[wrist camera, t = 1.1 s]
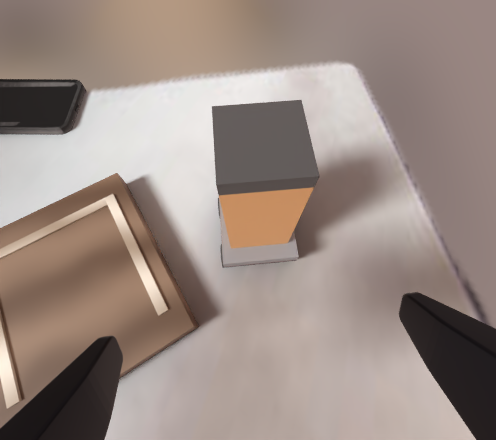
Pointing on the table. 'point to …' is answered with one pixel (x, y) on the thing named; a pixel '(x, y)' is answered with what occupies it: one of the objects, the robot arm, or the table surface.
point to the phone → (39, 106)
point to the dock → (82, 289)
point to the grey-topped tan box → (262, 179)
